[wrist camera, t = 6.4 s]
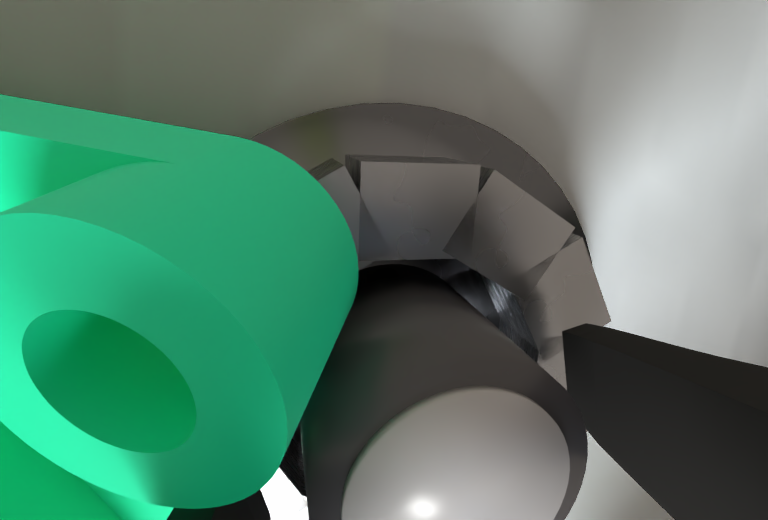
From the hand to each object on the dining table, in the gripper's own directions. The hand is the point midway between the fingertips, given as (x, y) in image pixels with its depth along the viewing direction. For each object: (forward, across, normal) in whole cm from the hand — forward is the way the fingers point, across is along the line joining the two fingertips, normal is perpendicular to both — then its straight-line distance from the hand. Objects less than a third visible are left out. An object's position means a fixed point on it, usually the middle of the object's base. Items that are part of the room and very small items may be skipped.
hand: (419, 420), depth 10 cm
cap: (+3, 0, 0) cm, 3 cm away
